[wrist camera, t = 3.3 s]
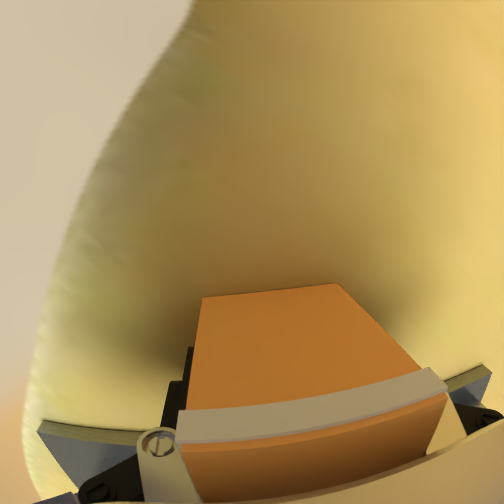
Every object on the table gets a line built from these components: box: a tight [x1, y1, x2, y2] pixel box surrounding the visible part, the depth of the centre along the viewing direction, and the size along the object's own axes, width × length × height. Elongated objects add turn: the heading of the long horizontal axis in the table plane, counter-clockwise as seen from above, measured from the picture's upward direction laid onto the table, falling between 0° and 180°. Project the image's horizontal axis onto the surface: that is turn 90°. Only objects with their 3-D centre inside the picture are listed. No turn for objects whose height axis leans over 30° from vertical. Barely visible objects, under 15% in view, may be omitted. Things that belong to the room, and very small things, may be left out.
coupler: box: [175, 283, 449, 503], centre depth 8 cm, size 5×6×7 cm
